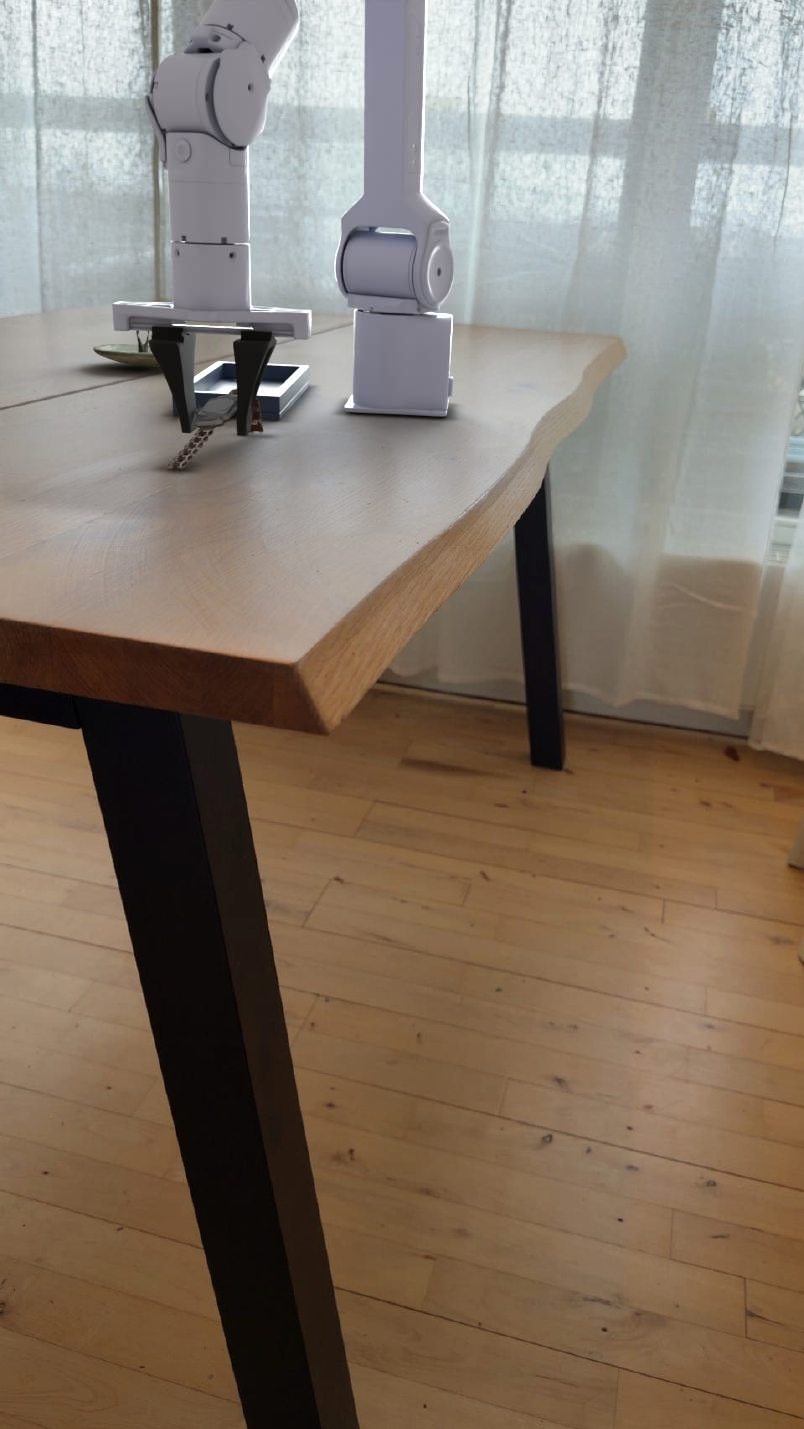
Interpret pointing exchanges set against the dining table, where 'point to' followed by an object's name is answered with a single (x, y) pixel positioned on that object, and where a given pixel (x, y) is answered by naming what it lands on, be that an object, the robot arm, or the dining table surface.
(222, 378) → the holder
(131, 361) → the lid
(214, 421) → the wristwatch
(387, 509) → the dining table surface
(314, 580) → the dining table surface
